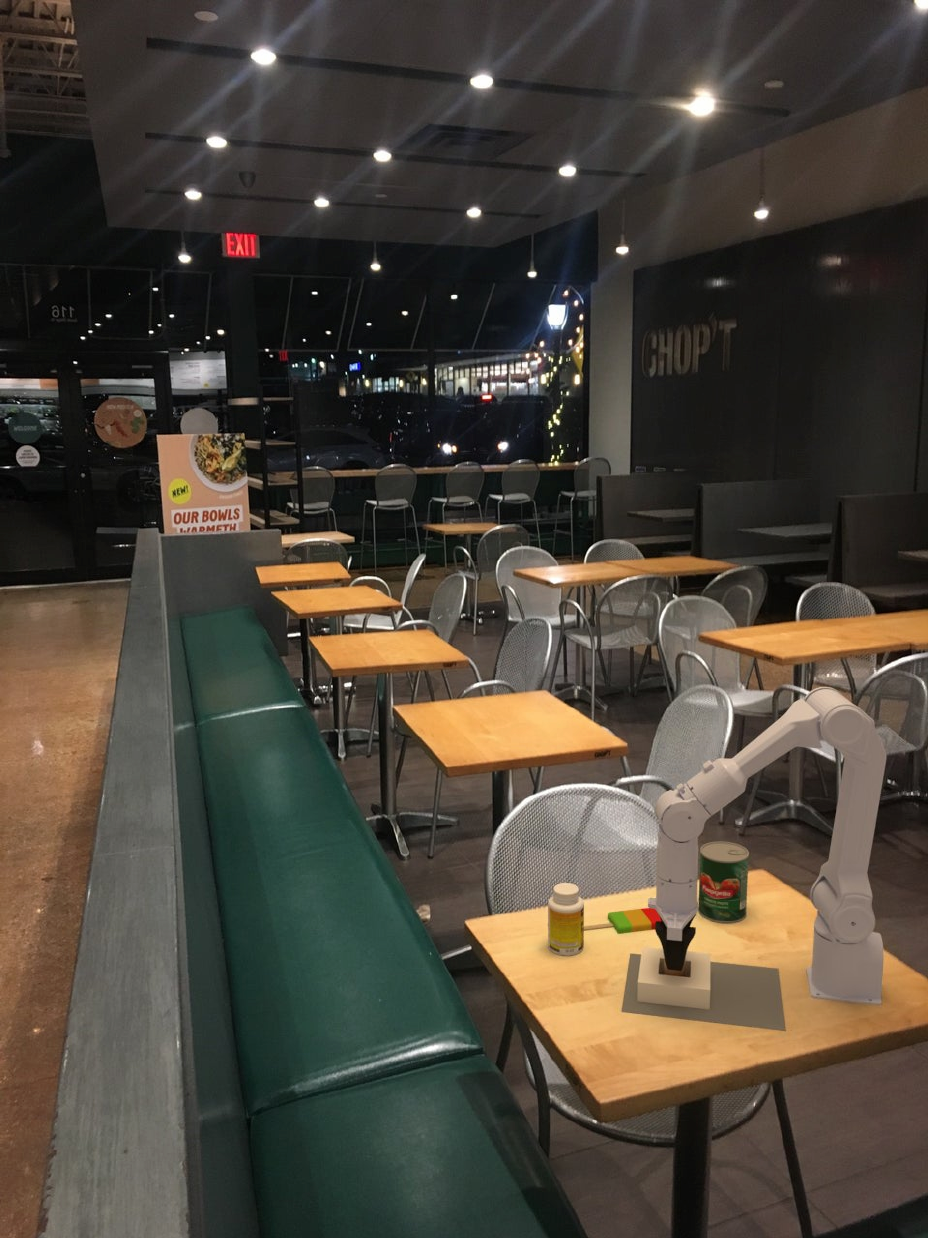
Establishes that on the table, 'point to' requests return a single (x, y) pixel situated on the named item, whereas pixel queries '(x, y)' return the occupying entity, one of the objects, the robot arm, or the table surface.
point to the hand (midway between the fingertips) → (675, 962)
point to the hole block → (674, 980)
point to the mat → (721, 997)
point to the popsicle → (630, 921)
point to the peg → (673, 972)
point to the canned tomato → (723, 882)
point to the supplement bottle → (566, 920)
